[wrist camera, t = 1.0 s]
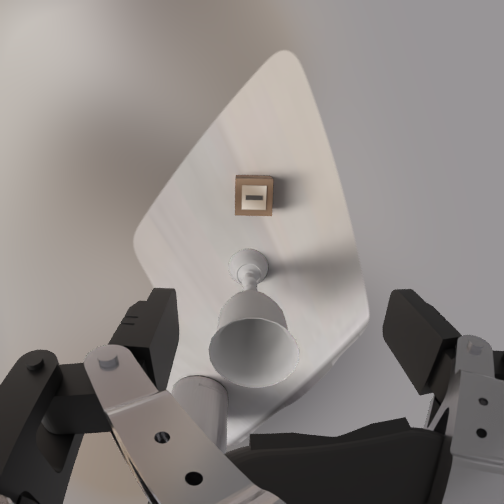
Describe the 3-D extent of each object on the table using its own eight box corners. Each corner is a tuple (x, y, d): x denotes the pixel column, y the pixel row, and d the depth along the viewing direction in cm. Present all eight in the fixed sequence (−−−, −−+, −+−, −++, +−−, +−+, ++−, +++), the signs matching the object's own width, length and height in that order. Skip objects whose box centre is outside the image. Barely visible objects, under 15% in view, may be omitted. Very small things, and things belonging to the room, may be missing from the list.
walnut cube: (268, 208, 38) (272, 216, 34) (235, 208, 38) (235, 215, 34) (269, 175, 37) (273, 179, 33) (236, 175, 37) (235, 178, 33)
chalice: (287, 268, 41) (317, 355, 24) (249, 302, 42) (255, 399, 25) (247, 229, 39) (253, 299, 22) (209, 266, 40) (189, 353, 23)
